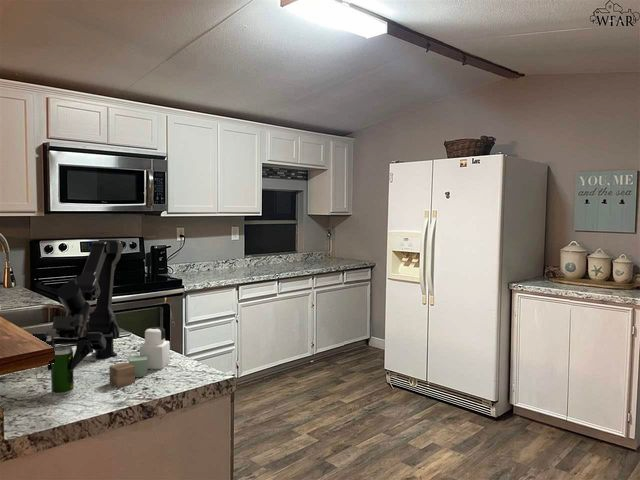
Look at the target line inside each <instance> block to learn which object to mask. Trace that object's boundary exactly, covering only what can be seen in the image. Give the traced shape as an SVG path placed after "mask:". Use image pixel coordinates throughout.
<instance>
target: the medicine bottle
mask: <svg viewBox="0 0 640 480" xmlns="http://www.w3.org/2000/svg"><path fill="white" fill-rule="evenodd" d="M170 344H171V343H170V341H169V340H166V329H165V328H163V327H161V326H152V327H148V328H146V329H145V330H144V343H143V344H142V345H140V346H139V356H140V355H146V357H147V370H162V369H164V368H165V367H166V366H168V365H169V363H170V357H171V356H170V355H171V352H170V351H171V349H170Z"/></svg>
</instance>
